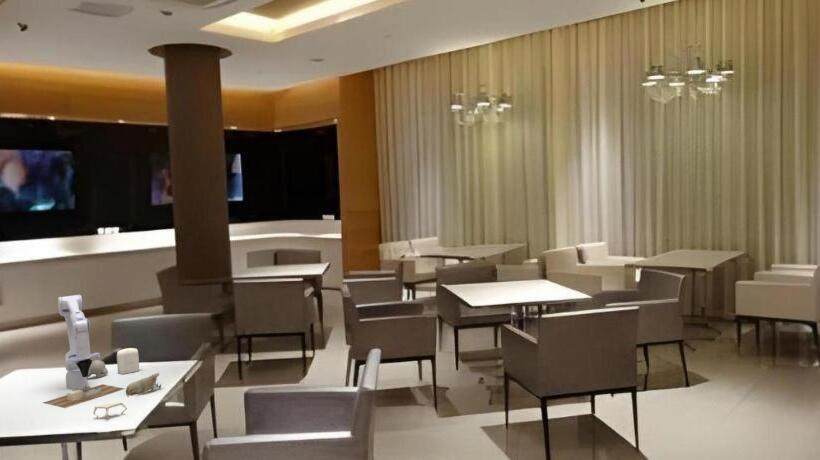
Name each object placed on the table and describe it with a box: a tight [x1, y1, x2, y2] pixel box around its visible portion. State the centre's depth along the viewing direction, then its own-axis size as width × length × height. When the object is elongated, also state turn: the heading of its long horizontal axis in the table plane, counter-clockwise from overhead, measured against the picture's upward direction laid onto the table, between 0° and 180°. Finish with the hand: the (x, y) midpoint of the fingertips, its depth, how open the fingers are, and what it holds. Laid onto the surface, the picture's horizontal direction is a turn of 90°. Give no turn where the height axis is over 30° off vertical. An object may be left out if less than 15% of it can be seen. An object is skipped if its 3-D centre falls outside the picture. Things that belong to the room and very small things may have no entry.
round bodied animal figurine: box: [87, 359, 109, 380], centre depth 336 cm, size 7×12×8 cm, turn 116°
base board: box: [42, 384, 126, 409], centre depth 303 cm, size 17×29×1 cm, turn 148°
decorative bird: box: [125, 372, 162, 398], centre depth 307 cm, size 5×16×8 cm, turn 138°
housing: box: [72, 385, 101, 399], centre depth 304 cm, size 10×7×3 cm
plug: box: [66, 389, 86, 401], centre depth 300 cm, size 8×4×3 cm, turn 154°
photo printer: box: [116, 347, 140, 375], centre depth 343 cm, size 10×4×12 cm, turn 123°
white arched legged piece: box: [93, 402, 128, 420], centre depth 276 cm, size 12×8×5 cm
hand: (85, 376), depth 303 cm, fingers closed
